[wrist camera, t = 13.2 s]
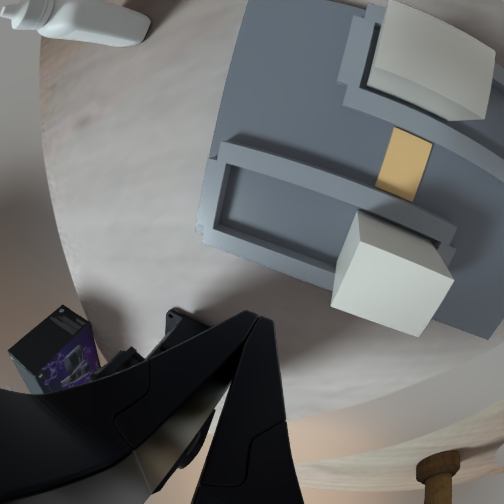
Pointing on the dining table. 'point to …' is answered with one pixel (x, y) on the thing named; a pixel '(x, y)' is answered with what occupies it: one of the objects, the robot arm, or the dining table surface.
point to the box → (56, 353)
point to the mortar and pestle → (438, 476)
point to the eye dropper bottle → (80, 21)
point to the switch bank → (349, 159)
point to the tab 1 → (432, 65)
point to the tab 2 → (389, 276)
